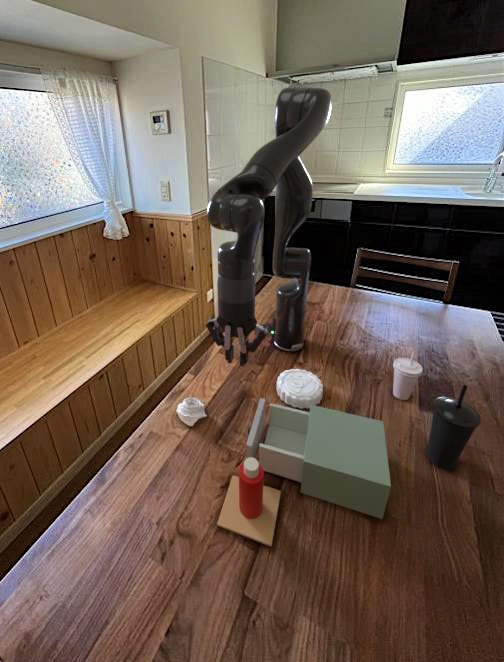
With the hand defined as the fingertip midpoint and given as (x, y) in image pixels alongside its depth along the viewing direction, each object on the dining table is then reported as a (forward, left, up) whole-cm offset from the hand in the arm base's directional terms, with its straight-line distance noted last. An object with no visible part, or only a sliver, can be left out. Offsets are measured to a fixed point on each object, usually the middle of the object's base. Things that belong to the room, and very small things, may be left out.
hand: (236, 362), depth 74 cm
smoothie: (+25, +36, -19) cm, 48 cm away
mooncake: (+5, +19, -19) cm, 28 cm away
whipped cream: (-11, -6, -19) cm, 23 cm away
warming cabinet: (+23, +5, -19) cm, 31 cm away
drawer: (+12, 0, -18) cm, 22 cm away
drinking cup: (+37, +22, -19) cm, 48 cm away
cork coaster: (+14, -13, -19) cm, 27 cm away
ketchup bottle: (+14, -13, -19) cm, 27 cm away
